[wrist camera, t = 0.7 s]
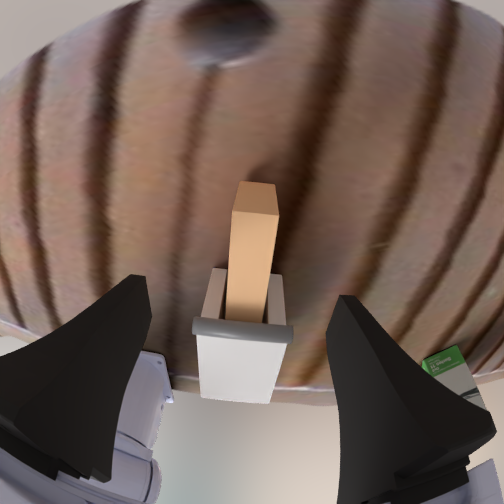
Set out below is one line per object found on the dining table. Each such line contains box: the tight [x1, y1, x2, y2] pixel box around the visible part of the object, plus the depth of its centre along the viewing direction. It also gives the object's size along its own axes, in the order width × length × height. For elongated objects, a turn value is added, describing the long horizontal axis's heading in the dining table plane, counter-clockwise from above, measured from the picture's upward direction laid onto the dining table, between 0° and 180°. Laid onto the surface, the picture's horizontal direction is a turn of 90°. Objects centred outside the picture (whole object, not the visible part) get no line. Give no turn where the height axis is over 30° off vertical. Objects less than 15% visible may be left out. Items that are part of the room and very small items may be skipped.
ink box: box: [422, 345, 486, 410], centre depth 22 cm, size 9×5×12 cm, turn 21°
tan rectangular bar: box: [225, 181, 279, 323], centre depth 17 cm, size 13×2×4 cm, turn 175°
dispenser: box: [192, 268, 293, 404], centre depth 19 cm, size 8×5×6 cm
